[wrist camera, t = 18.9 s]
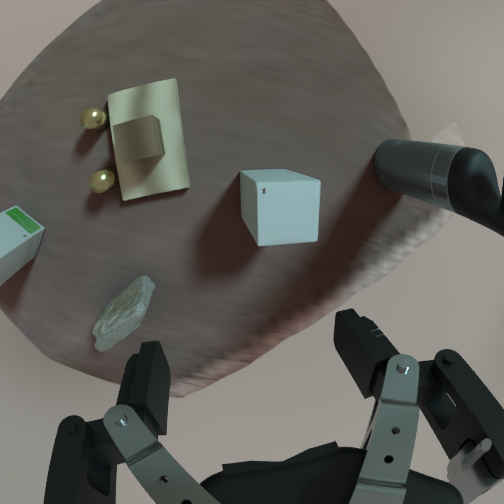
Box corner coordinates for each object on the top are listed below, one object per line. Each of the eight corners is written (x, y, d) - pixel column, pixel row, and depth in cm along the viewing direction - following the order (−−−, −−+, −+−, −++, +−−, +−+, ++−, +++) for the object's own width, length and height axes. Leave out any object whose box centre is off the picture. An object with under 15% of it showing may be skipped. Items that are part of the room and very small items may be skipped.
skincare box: (46, 227, 36) (-7, 265, 22) (36, 258, 38) (-11, 301, 23) (15, 203, 33) (-41, 231, 19) (6, 234, 35) (-44, 269, 20)
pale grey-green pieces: (177, 82, 33) (175, 78, 31) (190, 184, 39) (190, 187, 37) (112, 97, 32) (107, 95, 30) (127, 197, 38) (123, 200, 36)
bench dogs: (110, 108, 32) (98, 104, 27) (121, 185, 37) (110, 190, 32) (92, 113, 32) (78, 110, 27) (103, 189, 36) (91, 195, 32)
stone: (146, 266, 42) (133, 299, 33) (167, 291, 44) (161, 327, 35) (94, 307, 43) (76, 341, 34) (114, 327, 45) (101, 364, 36)
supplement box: (240, 218, 42) (255, 248, 30) (239, 169, 39) (254, 179, 27) (287, 216, 43) (318, 243, 31) (288, 168, 40) (321, 179, 29)
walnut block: (159, 119, 33) (152, 114, 27) (165, 153, 35) (158, 154, 29) (125, 128, 32) (112, 125, 27) (131, 162, 34) (119, 165, 29)
